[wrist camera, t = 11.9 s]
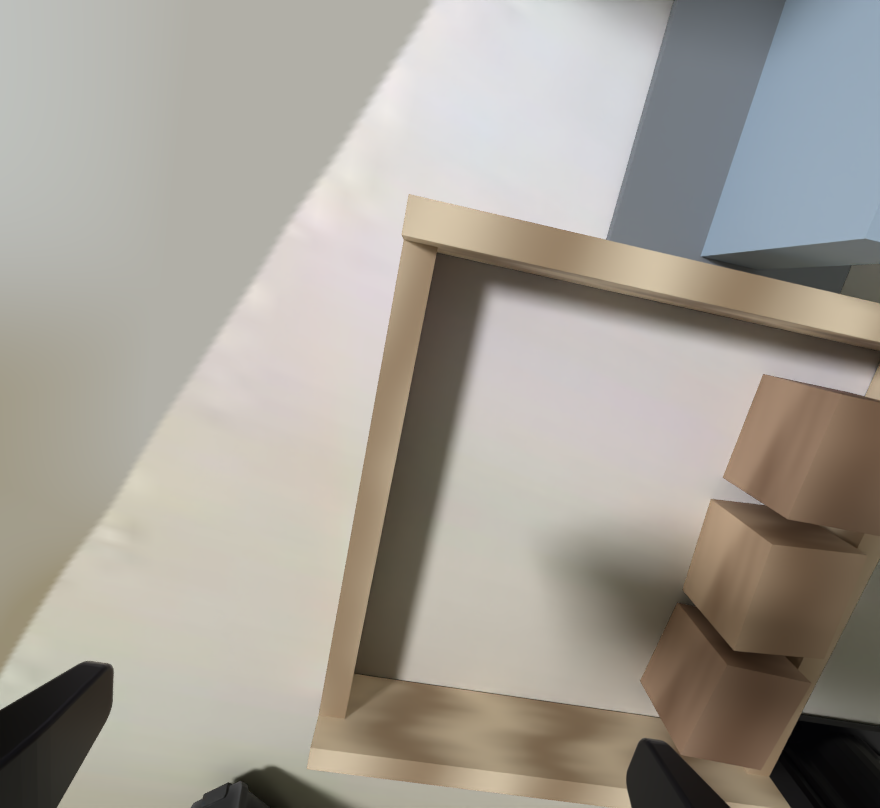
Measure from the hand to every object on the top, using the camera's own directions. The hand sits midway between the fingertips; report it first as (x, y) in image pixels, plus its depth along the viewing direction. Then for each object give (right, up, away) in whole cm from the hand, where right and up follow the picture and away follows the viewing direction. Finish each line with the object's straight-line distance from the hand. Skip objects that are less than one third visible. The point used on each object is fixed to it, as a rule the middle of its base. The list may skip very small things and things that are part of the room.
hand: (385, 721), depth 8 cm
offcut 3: (+14, -7, +16) cm, 23 cm away
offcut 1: (+17, +4, +13) cm, 22 cm away
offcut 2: (+15, -2, +15) cm, 21 cm away
